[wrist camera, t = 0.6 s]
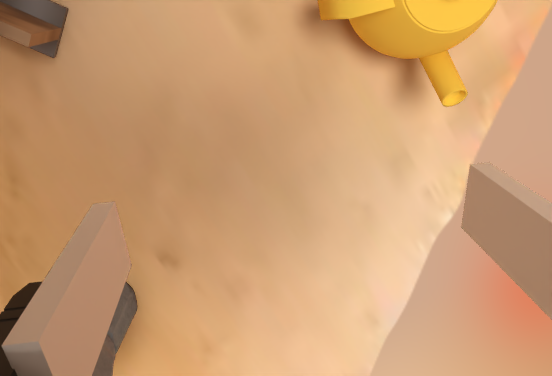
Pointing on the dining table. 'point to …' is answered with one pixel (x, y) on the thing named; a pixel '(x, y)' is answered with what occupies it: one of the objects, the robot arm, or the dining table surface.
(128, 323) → the moka pot
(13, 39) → the fence
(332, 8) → the teapot
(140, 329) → the dining table surface
